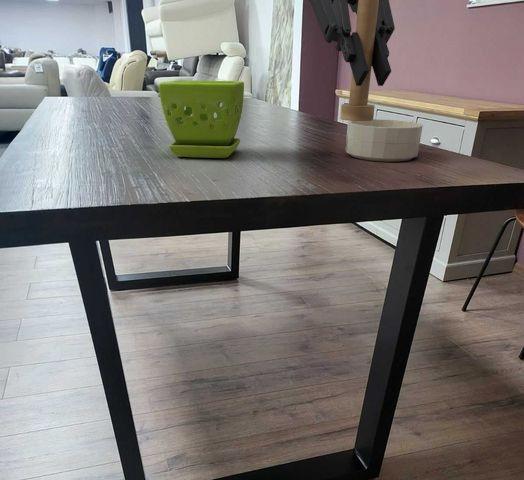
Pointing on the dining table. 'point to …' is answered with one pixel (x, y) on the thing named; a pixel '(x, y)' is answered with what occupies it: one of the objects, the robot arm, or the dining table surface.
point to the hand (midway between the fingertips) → (373, 78)
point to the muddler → (359, 94)
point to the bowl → (383, 140)
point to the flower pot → (202, 116)
